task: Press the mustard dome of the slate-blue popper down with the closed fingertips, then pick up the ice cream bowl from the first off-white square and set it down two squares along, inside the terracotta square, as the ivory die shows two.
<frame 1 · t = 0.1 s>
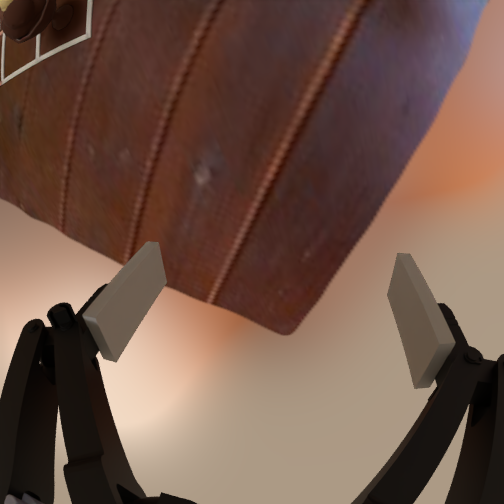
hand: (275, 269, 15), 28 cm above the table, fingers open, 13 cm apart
ice cream bowl: (63, 17, 30), on the table
track: (19, 43, 32), on the table
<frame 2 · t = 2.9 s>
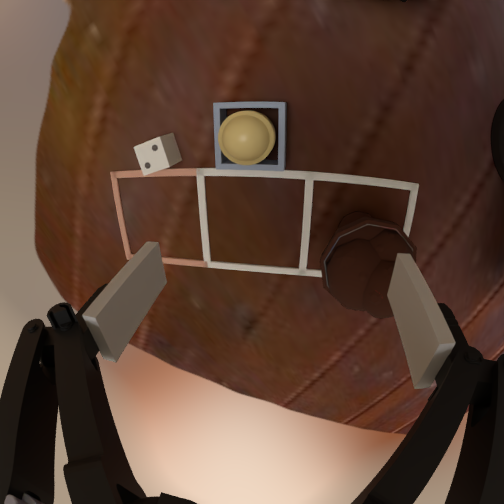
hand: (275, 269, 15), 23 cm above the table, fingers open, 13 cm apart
ice cream bowl: (357, 230, 37), on the table
dome: (246, 137, 30), point 5 cm above the table, slide at 0.0 cm
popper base: (253, 133, 34), on the table
track: (253, 223, 39), on the table
die: (165, 150, 36), on the table
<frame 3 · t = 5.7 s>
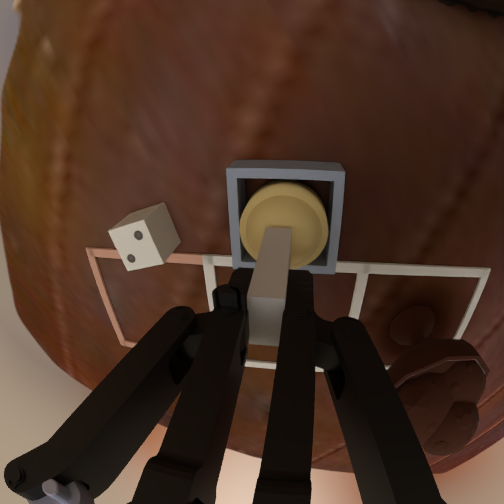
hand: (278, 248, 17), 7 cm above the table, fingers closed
ice cream bowl: (411, 324, 27), on the table
dome: (283, 229, 20), point 4 cm above the table, slide at 0.7 cm, touching gripper
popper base: (286, 209, 23), on the table
track: (283, 322, 29), on the table
die: (155, 226, 26), on the table
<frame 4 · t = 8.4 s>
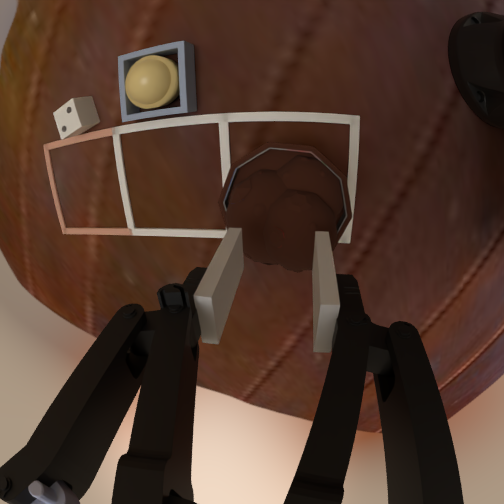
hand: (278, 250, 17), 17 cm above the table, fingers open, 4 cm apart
ice cream bowl: (289, 178, 32), on the table
dome: (150, 81, 25), point 3 cm above the table, slide at 1.7 cm
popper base: (162, 82, 28), on the table
track: (171, 179, 34), on the table
die: (86, 115, 31), on the table
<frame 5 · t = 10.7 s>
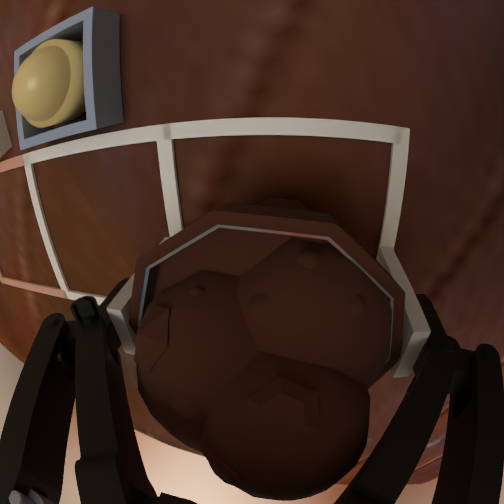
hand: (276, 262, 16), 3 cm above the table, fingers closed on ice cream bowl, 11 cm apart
ice cream bowl: (280, 236, 19), on the table, touching gripper
dome: (48, 82, 12), point 3 cm above the table, slide at 1.7 cm
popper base: (76, 80, 15), on the table
track: (99, 231, 21), on the table
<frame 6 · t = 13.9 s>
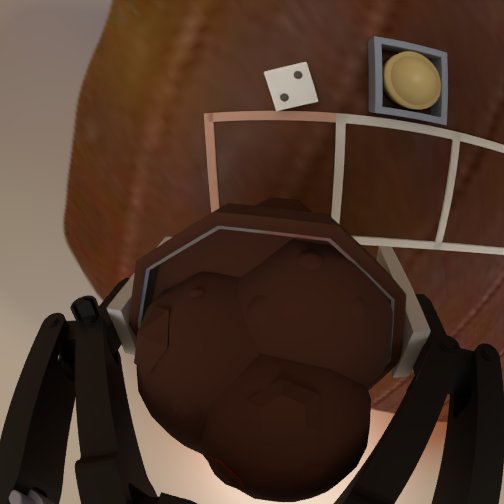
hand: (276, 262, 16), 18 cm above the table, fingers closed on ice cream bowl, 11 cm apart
ice cream bowl: (281, 236, 19), point 15 cm above the table, touching gripper
dome: (413, 80, 21), point 3 cm above the table, slide at 1.7 cm
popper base: (404, 81, 24), on the table
track: (397, 186, 29), on the table
die: (292, 88, 27), on the table
when the fingers open (4 cm above the table, at t = 17.2 s): ice cream bowl stays where it is, on the table.
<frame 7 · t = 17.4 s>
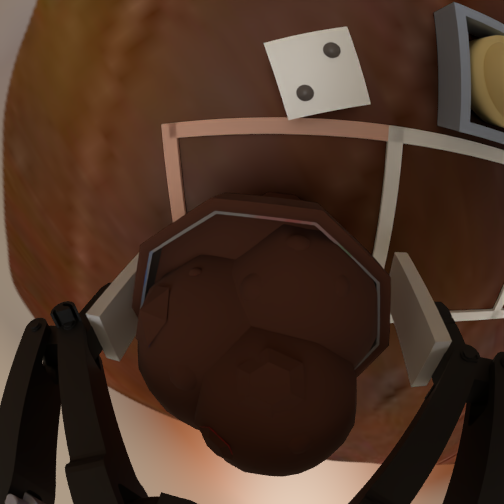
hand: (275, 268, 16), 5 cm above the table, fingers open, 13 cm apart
ice cream bowl: (278, 230, 20), on the table
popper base: (485, 82, 12), on the table
track: (464, 242, 17), on the table
die: (314, 78, 15), on the table
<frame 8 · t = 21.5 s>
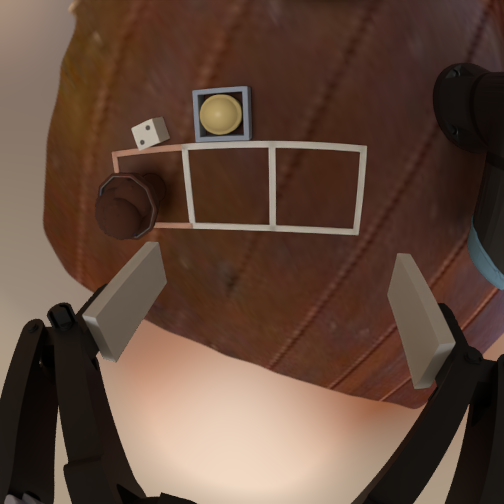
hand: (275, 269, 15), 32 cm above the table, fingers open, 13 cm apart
ice cream bowl: (152, 188, 49), on the table
dome: (220, 114, 38), point 3 cm above the table, slide at 1.7 cm
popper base: (225, 113, 41), on the table
track: (229, 186, 47), on the table
die: (156, 131, 44), on the table
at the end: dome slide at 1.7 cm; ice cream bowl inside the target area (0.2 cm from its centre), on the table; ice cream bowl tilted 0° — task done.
